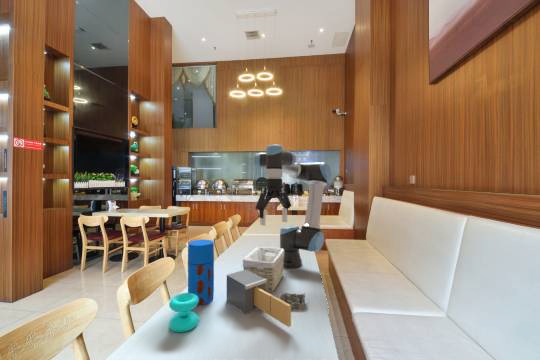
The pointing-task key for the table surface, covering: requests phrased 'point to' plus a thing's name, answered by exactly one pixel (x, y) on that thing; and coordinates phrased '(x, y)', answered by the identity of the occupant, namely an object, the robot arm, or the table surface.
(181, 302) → the turquoise hourglass spool
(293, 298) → the egg carton
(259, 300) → the ticket
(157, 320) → the table surface
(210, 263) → the thermos
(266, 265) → the storage basket
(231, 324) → the table surface
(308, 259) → the table surface
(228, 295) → the box
